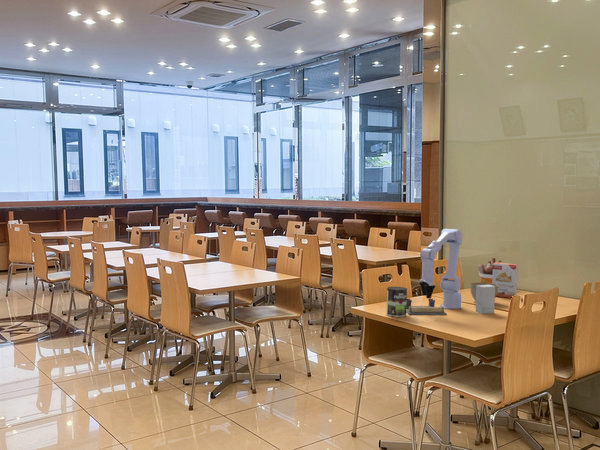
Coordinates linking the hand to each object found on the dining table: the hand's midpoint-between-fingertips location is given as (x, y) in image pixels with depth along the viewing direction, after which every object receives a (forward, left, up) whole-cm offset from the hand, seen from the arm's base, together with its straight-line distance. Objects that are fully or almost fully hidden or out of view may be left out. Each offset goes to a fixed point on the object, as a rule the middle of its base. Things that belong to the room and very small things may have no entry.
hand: (426, 296), depth 300 cm
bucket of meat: (-68, -80, -9) cm, 105 cm away
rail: (0, 0, -8) cm, 8 cm away
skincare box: (-33, -3, -9) cm, 34 cm away
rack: (0, -12, -9) cm, 15 cm away
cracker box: (-64, -50, -9) cm, 82 cm away
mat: (0, 0, -9) cm, 9 cm away
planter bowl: (-43, -30, -9) cm, 53 cm away
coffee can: (+17, +4, -9) cm, 20 cm away
